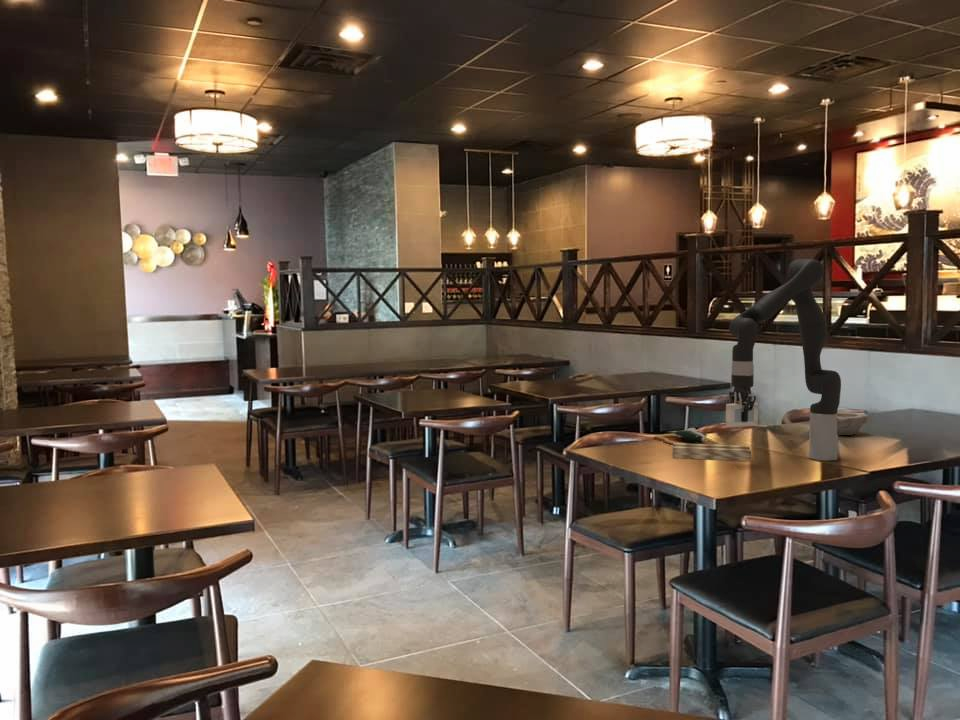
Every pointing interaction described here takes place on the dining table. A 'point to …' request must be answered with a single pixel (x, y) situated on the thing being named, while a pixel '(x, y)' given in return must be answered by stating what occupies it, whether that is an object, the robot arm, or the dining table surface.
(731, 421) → the tapered grey panel
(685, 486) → the dining table surface
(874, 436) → the dining table surface
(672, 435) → the decorative plaque
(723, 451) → the picture ledge
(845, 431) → the mortar
